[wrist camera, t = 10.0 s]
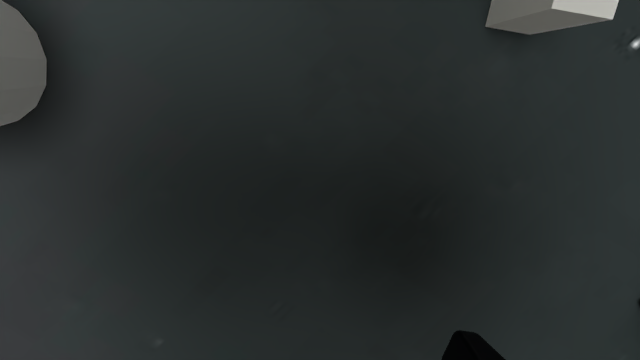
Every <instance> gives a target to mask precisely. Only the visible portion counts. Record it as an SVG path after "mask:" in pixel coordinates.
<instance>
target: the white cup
mask: <svg viewBox="0 0 640 360" xmlns="http://www.w3.org/2000/svg"><path fill="white" fill-rule="evenodd" d="M46 72H47V59H46V56H45V54H44V51H43V48H42V46H41V43H40V40H39V38H38V35H37V33H36V32H35V30H34V29H33V28H32V27H31V26H30V24H29V23H28V22H27V21H26V19H25V18H24V17H23V16H22V15H21V13H20V12H19V11H18V10H17V9H15V8H13V7H12V6H10V5H8V4H7V3H5V2H4V1H2V0H0V126H2V125H6V124H9V123H13V122H16V121H19V120H20V119H21V118H22V117H24V116H25V115H26V114H28V113H29V112H30V111H31V110H33V109H34V108H35V107H36V106H37V104H38V102H39V100H40V98H41V96H42V93H43V91H44V89H45V87H46Z"/></svg>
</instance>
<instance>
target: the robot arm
mask: <svg viewBox="0 0 640 360" xmlns="http://www.w3.org/2000/svg"><path fill="white" fill-rule="evenodd" d="M442 360H505V359H504V358H503V357H502V356H501V355H500V354H499V353H498V352H497V351H496V350H495V349H493V348H492V347H491V346H490V345H489V344H488V343H487V342H486V341H485V340H484V339H483V338H482V337H481V336H480V335H478V334H477V333H474V332H468V331H461V330H459V331H456V332H455V333H454V334H453V335H452V337H451V340H450V342H449V344H448V346H447V348H446V350H445V352H444V354H443V356H442Z"/></svg>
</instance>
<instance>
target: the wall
mask: <svg viewBox="0 0 640 360" xmlns="http://www.w3.org/2000/svg"><path fill="white" fill-rule="evenodd" d="M618 1H619V0H492V1H491V5H490V9H489V13H488V17H487V21H486V25H485V27H489V28H495V29H500V30H506V31H512V32H517V33H523V34H529V35H531V34H537V33H542V32H547V31H553V30H558V29H564V28H569V27H575V26H580V25H585V24H591V23H596V22H602V21H607V20H613V17H614V14H615V11H616V8H617V4H618Z"/></svg>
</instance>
